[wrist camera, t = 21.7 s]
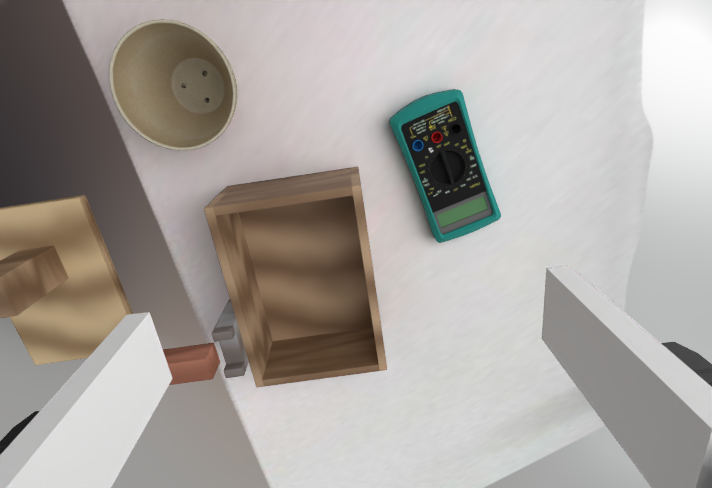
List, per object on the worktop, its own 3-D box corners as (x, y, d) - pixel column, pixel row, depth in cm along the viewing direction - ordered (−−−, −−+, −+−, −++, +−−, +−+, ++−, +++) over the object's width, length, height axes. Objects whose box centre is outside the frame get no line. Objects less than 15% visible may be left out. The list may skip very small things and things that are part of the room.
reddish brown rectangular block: (118, 355, 41) (104, 372, 38) (213, 342, 40) (205, 358, 38) (126, 374, 42) (113, 392, 39) (220, 361, 41) (212, 379, 39)
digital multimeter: (453, 82, 41) (461, 82, 39) (495, 213, 47) (504, 221, 44) (385, 113, 42) (387, 115, 40) (433, 237, 48) (438, 247, 45)
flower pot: (202, 159, 43) (176, 174, 37) (126, 77, 40) (82, 78, 34) (274, 94, 41) (260, 98, 34) (198, 3, 38) (167, -12, 31)
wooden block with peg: (-35, 213, 45) (-124, 245, 37) (85, 194, 45) (24, 223, 36) (42, 358, 52) (-17, 414, 44) (145, 344, 52) (106, 397, 44)
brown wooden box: (210, 188, 44) (174, 219, 35) (358, 166, 44) (361, 191, 34) (254, 344, 52) (234, 404, 42) (381, 327, 51) (389, 384, 42)
